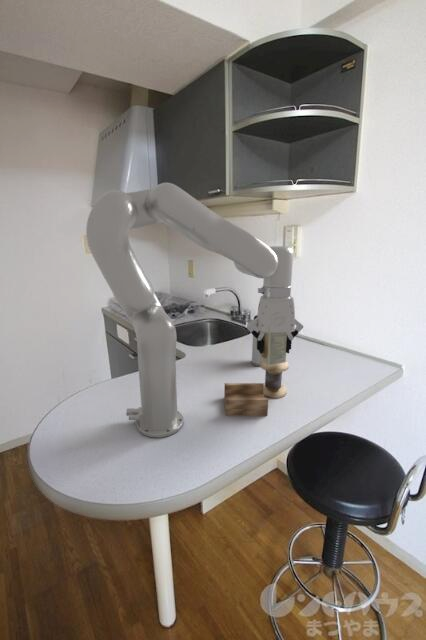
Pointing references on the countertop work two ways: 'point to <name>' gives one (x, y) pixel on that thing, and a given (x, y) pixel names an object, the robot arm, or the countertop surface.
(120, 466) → the countertop surface
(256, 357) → the travel mug
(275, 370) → the bobbin
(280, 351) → the skincare box
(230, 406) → the walnut stepped block
